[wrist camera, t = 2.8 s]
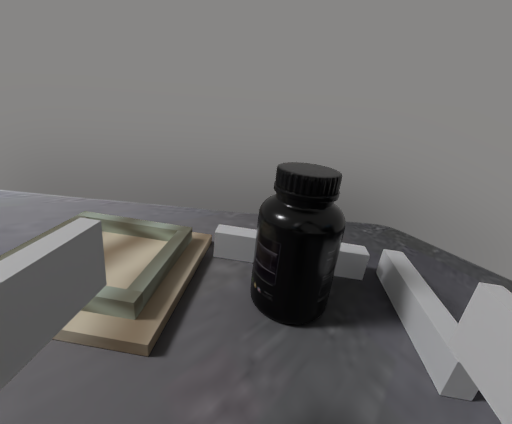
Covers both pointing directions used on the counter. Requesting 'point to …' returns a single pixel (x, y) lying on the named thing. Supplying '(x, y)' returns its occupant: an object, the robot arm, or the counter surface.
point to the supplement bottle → (297, 243)
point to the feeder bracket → (401, 296)
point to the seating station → (134, 282)
